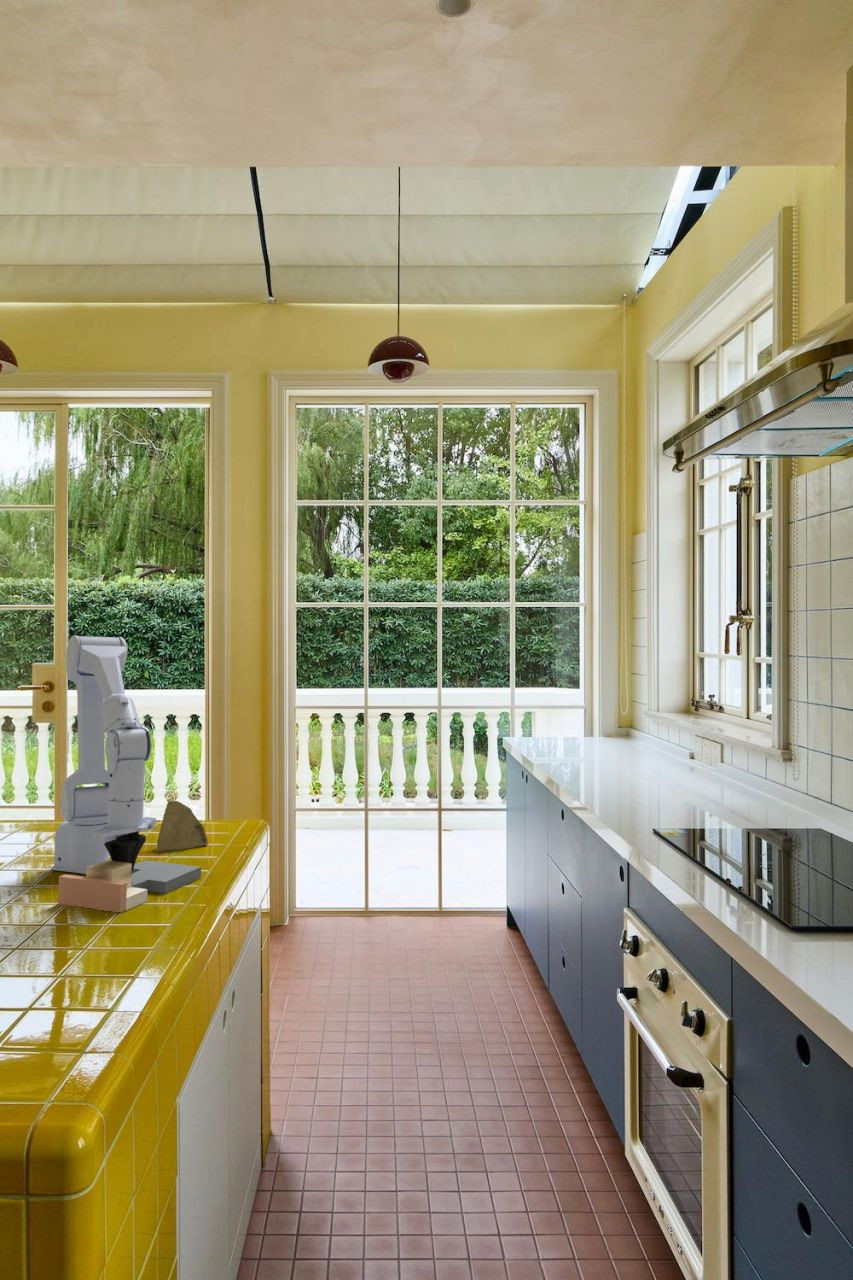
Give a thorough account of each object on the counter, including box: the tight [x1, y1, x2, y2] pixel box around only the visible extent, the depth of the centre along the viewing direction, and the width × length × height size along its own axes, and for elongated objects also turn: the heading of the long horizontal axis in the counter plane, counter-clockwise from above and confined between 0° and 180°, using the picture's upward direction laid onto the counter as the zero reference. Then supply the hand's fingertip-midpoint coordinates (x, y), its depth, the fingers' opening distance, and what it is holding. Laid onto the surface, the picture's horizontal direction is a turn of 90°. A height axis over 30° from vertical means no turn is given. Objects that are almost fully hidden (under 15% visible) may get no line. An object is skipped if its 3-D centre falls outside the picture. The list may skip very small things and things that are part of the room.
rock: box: [156, 800, 209, 853], centre depth 178 cm, size 11×9×10 cm
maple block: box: [85, 859, 132, 889], centre depth 140 cm, size 5×5×4 cm
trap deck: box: [57, 859, 202, 913], centre depth 146 cm, size 12×23×4 cm, turn 162°
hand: (123, 878), depth 144 cm, fingers closed
